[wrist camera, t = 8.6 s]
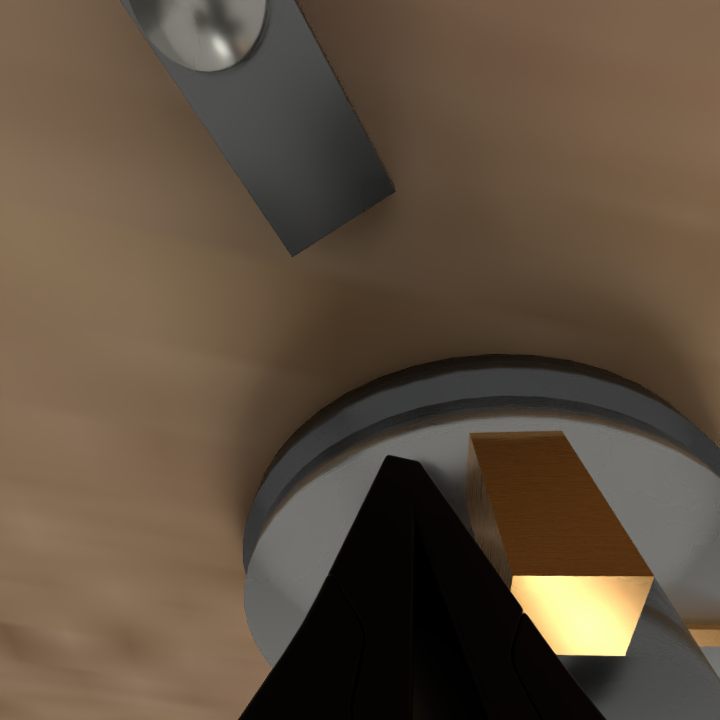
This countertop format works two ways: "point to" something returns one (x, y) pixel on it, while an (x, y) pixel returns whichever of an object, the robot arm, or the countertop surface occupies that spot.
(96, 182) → the countertop surface
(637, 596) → the platter
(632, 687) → the cover
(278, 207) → the grey bar
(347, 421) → the turntable base
